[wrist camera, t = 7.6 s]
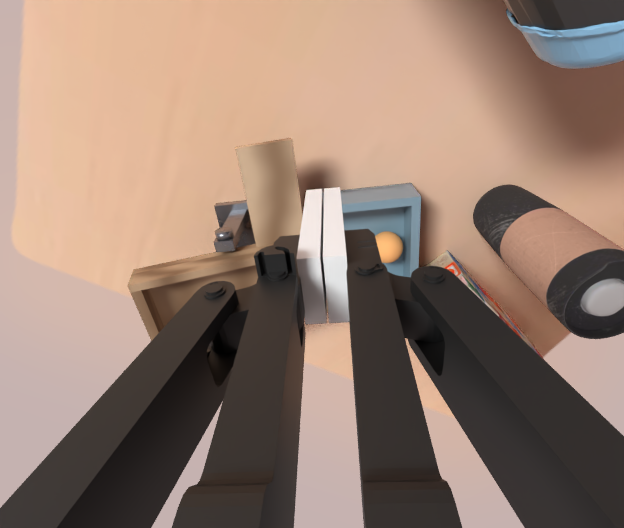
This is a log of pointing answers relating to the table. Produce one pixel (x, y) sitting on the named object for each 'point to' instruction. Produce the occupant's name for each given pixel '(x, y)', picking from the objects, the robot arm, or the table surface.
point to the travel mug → (556, 259)
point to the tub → (387, 218)
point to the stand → (233, 226)
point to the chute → (240, 263)
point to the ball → (389, 246)
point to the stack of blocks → (478, 291)
